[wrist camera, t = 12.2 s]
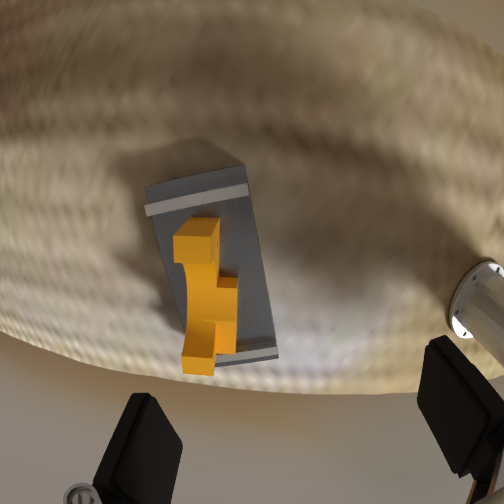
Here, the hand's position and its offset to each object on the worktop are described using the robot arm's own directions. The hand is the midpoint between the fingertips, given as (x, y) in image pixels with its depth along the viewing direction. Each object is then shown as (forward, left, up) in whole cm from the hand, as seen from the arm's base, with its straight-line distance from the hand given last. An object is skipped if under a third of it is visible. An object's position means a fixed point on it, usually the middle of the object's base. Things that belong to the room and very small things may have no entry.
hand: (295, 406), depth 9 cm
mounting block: (+5, +3, -24) cm, 25 cm away
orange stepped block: (+5, +3, -19) cm, 20 cm away
